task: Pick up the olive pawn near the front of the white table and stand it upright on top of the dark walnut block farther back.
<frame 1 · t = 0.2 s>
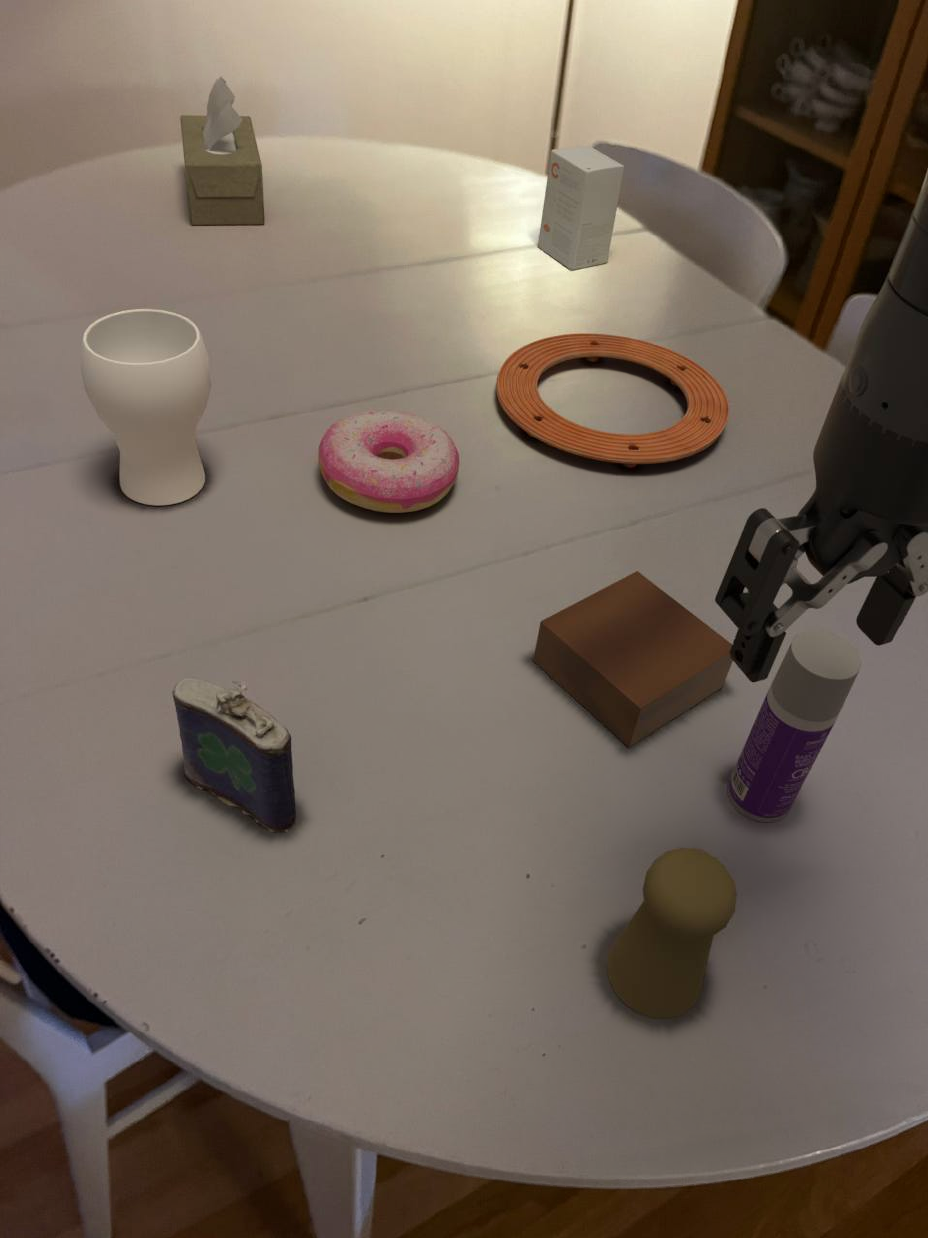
hand: (811, 651, 56), 21 cm above the table, tool pointing down, fingers open, 8 cm apart
small box: (571, 256, 140), on the table
cup: (163, 482, 96), on the table
flask: (242, 796, 71), on the table
tissue box: (223, 199, 144), on the table
walnut block: (627, 674, 83), on the table
olive pawn: (653, 973, 64), on the table
donut: (388, 483, 99), on the table
container: (757, 797, 75), on the table
ring: (608, 410, 112), on the table
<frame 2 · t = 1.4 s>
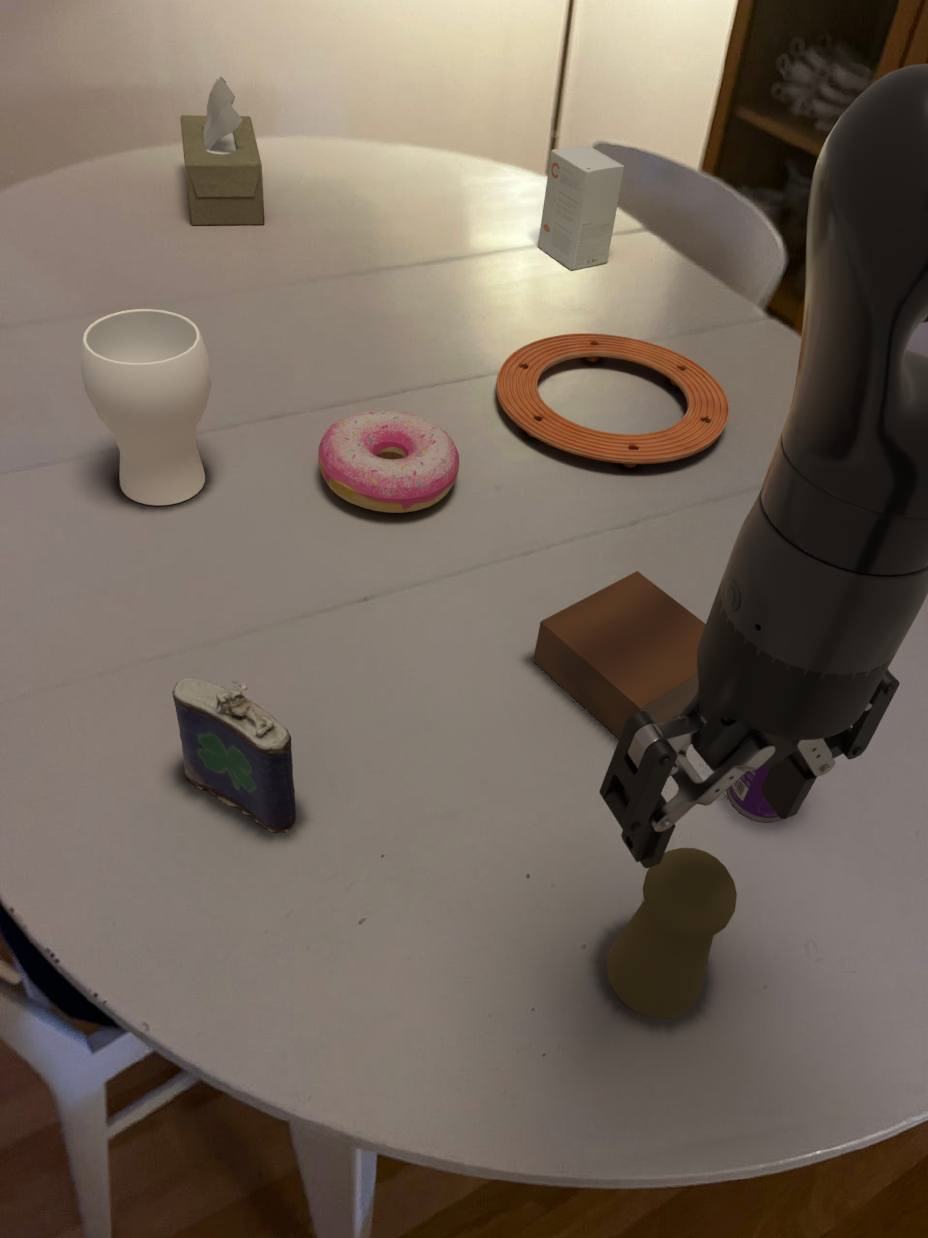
hand: (710, 828, 53), 16 cm above the table, tool pointing down, fingers open, 8 cm apart
nothing on the table moved.
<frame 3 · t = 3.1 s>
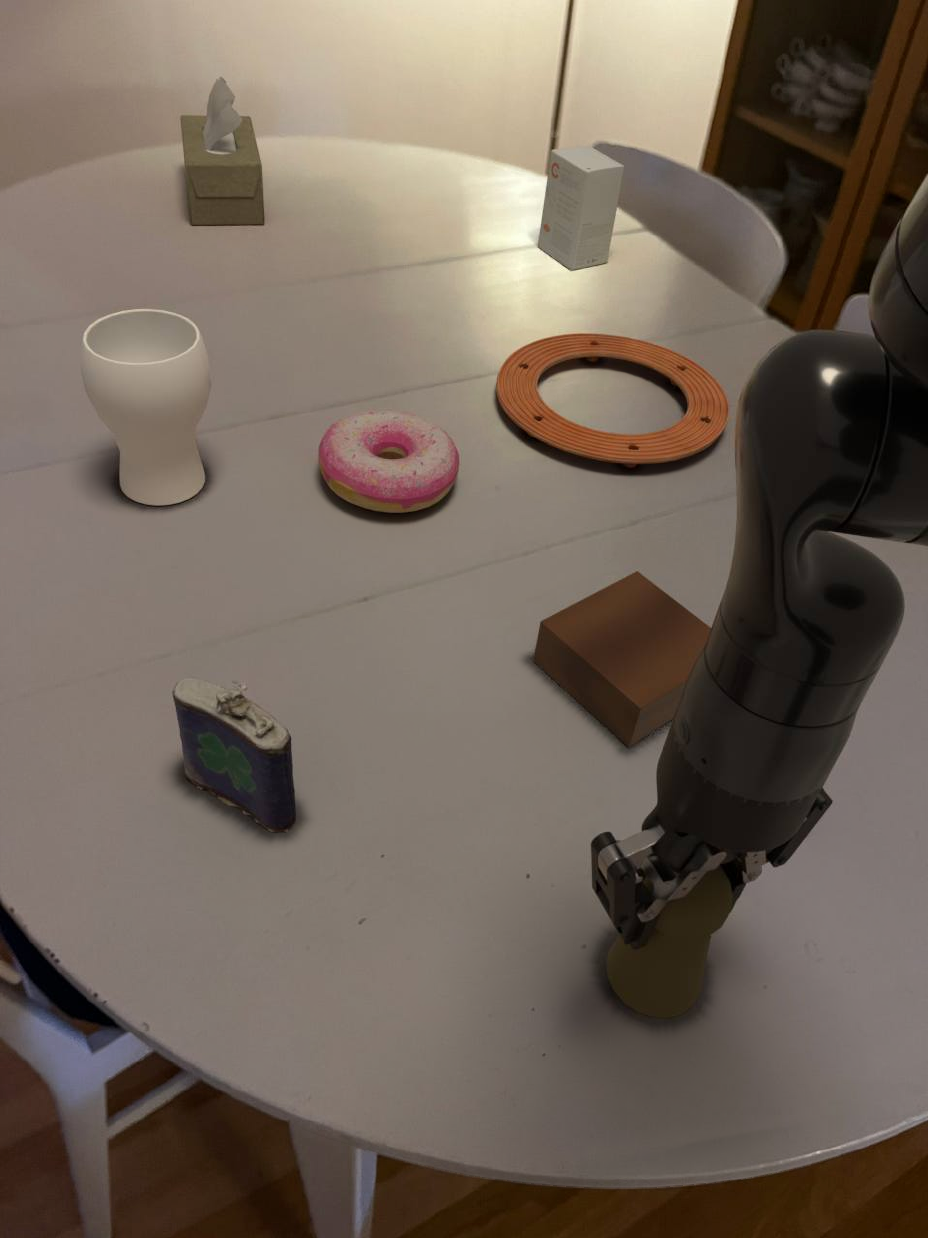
hand: (673, 917, 60), 6 cm above the table, tool pointing down, fingers closed on olive pawn, 5 cm apart
olive pawn: (653, 973, 64), on the table, touching gripper
everything else where it was.
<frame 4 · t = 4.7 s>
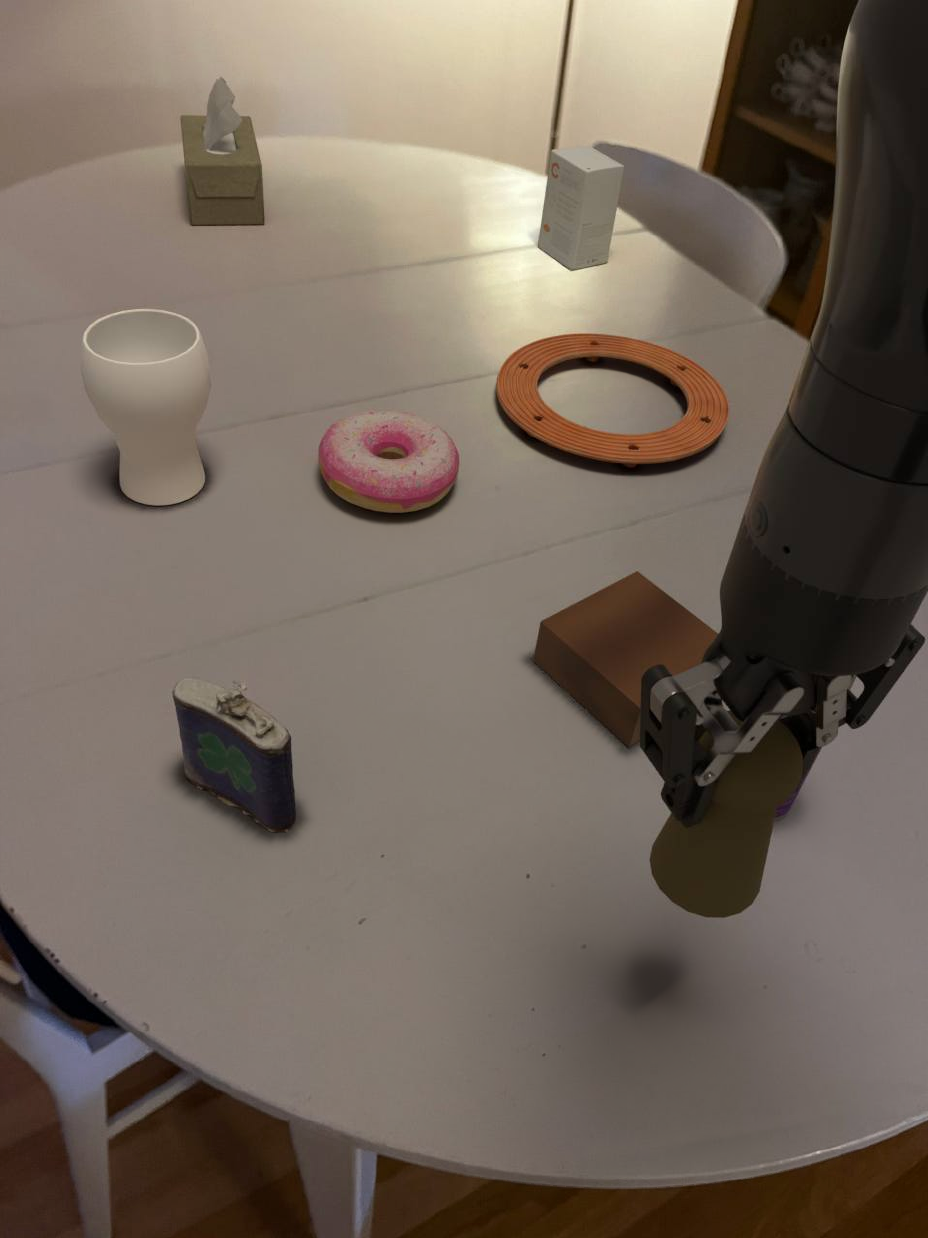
hand: (730, 794, 51), 19 cm above the table, tool pointing down, fingers closed on olive pawn, 5 cm apart
olive pawn: (704, 870, 55), point 12 cm above the table, touching gripper
everything else where it was.
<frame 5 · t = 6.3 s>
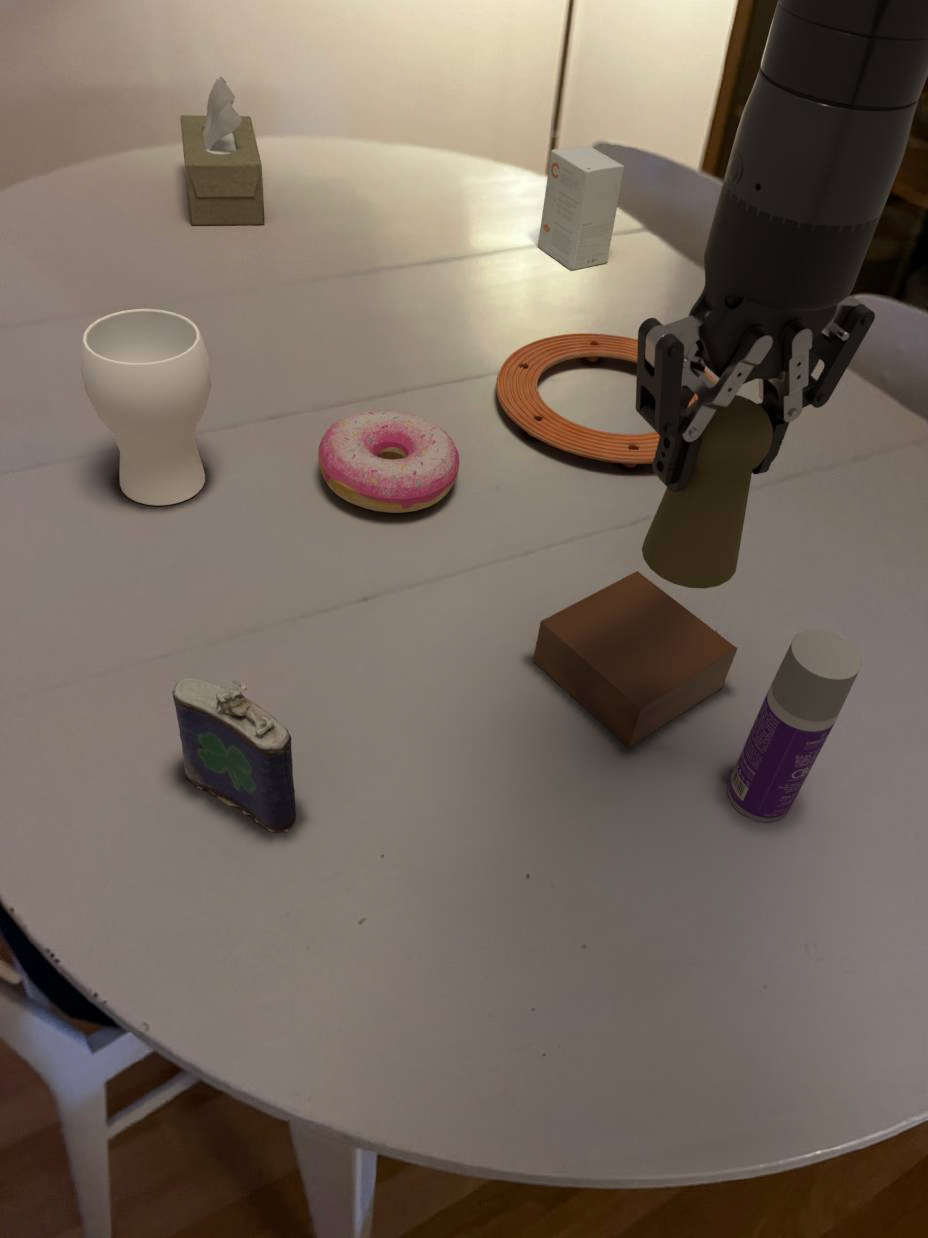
hand: (711, 473, 60), 25 cm above the table, tool pointing down, fingers closed on olive pawn, 5 cm apart
olive pawn: (688, 558, 65), point 19 cm above the table, touching gripper
everything else where it was.
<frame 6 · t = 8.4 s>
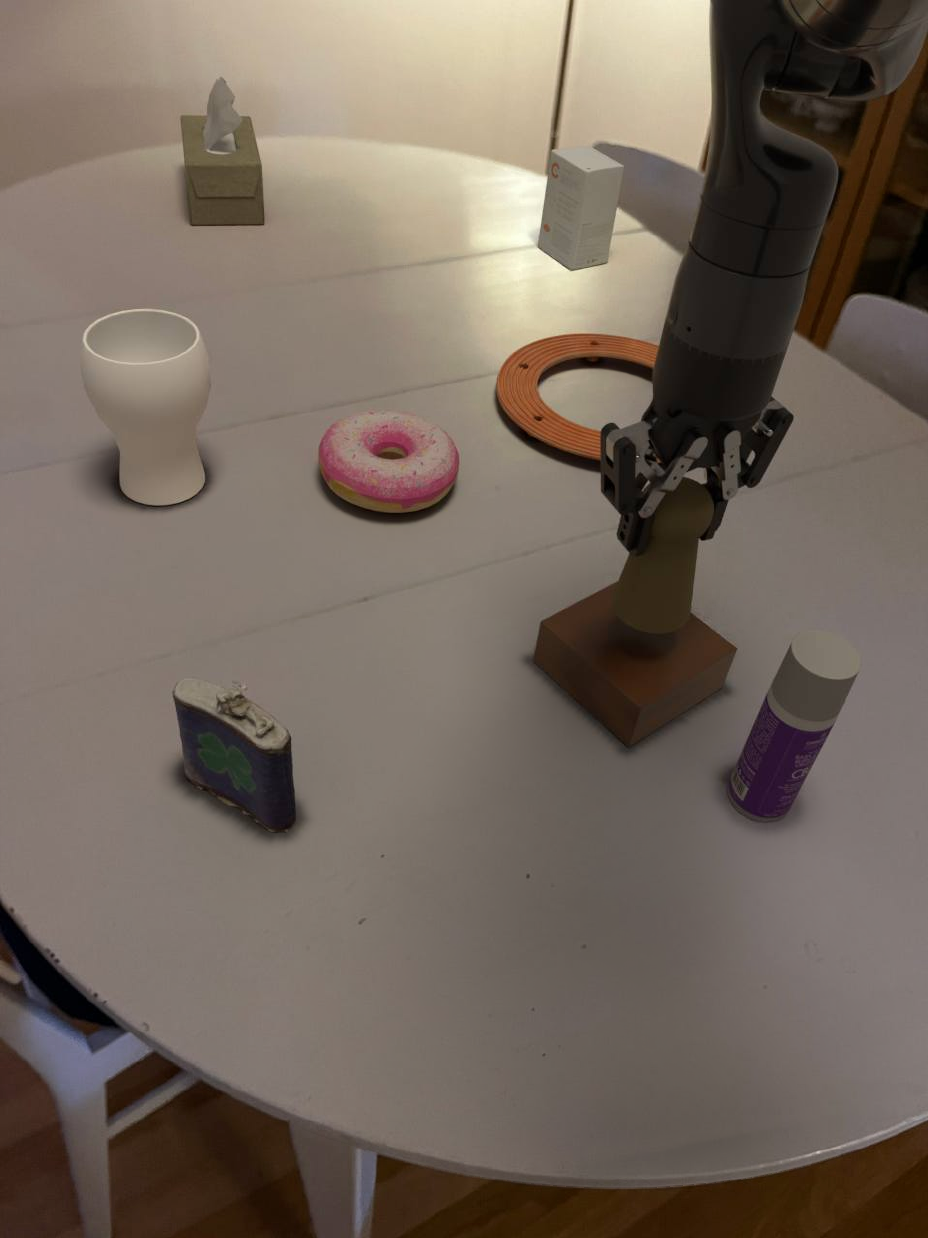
hand: (666, 540, 73), 14 cm above the table, tool pointing down, fingers closed on olive pawn, 5 cm apart
olive pawn: (650, 607, 77), point 8 cm above the table, touching gripper
everything else where it was.
when the fingers open (11 cm above the table, at t = 9.9 s): olive pawn stays where it is, resting on walnut block.
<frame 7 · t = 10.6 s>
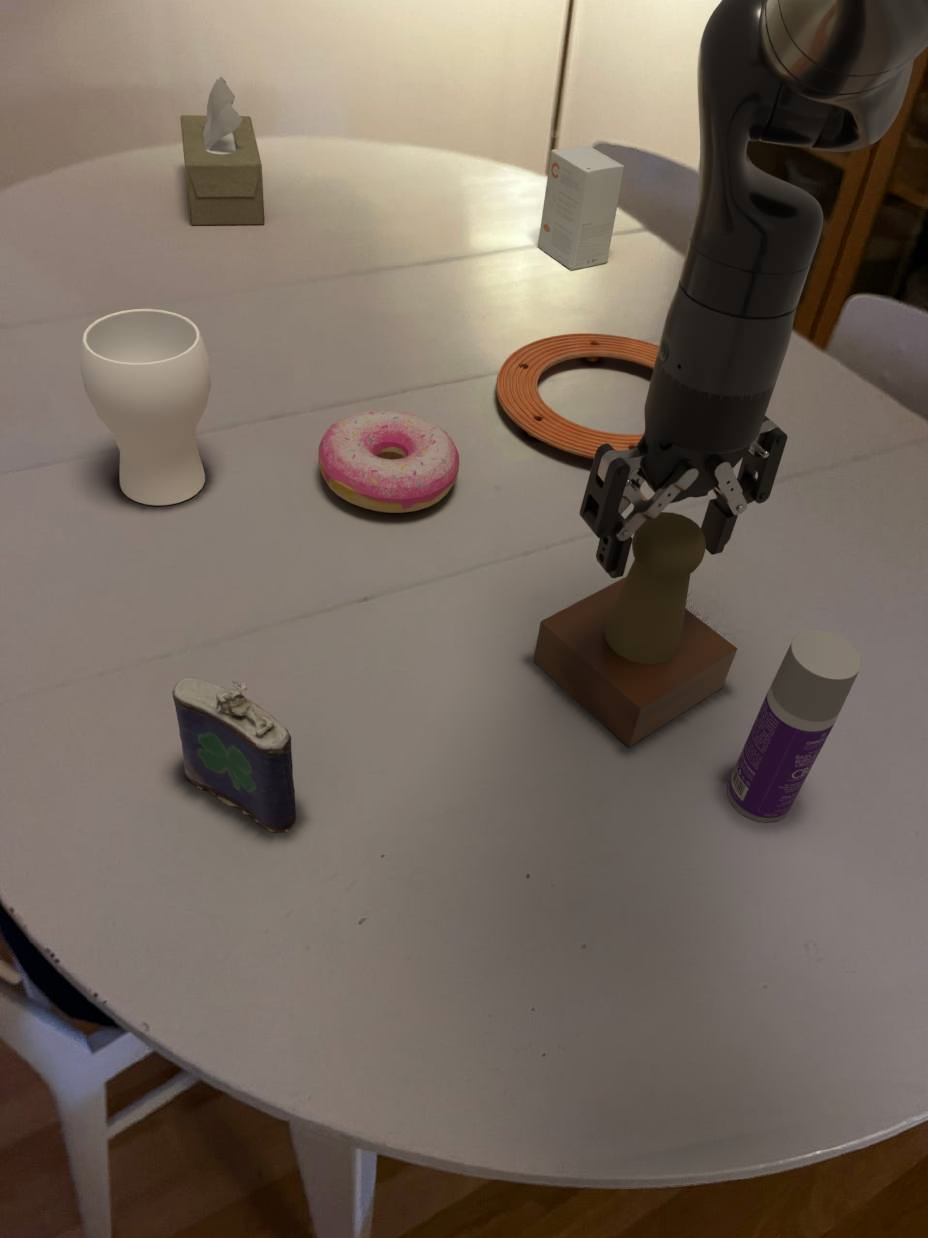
hand: (661, 558, 74), 12 cm above the table, tool pointing down, fingers open, 8 cm apart
olive pawn: (641, 638, 80), point 4 cm above the table, touching walnut block
everything else where it was.
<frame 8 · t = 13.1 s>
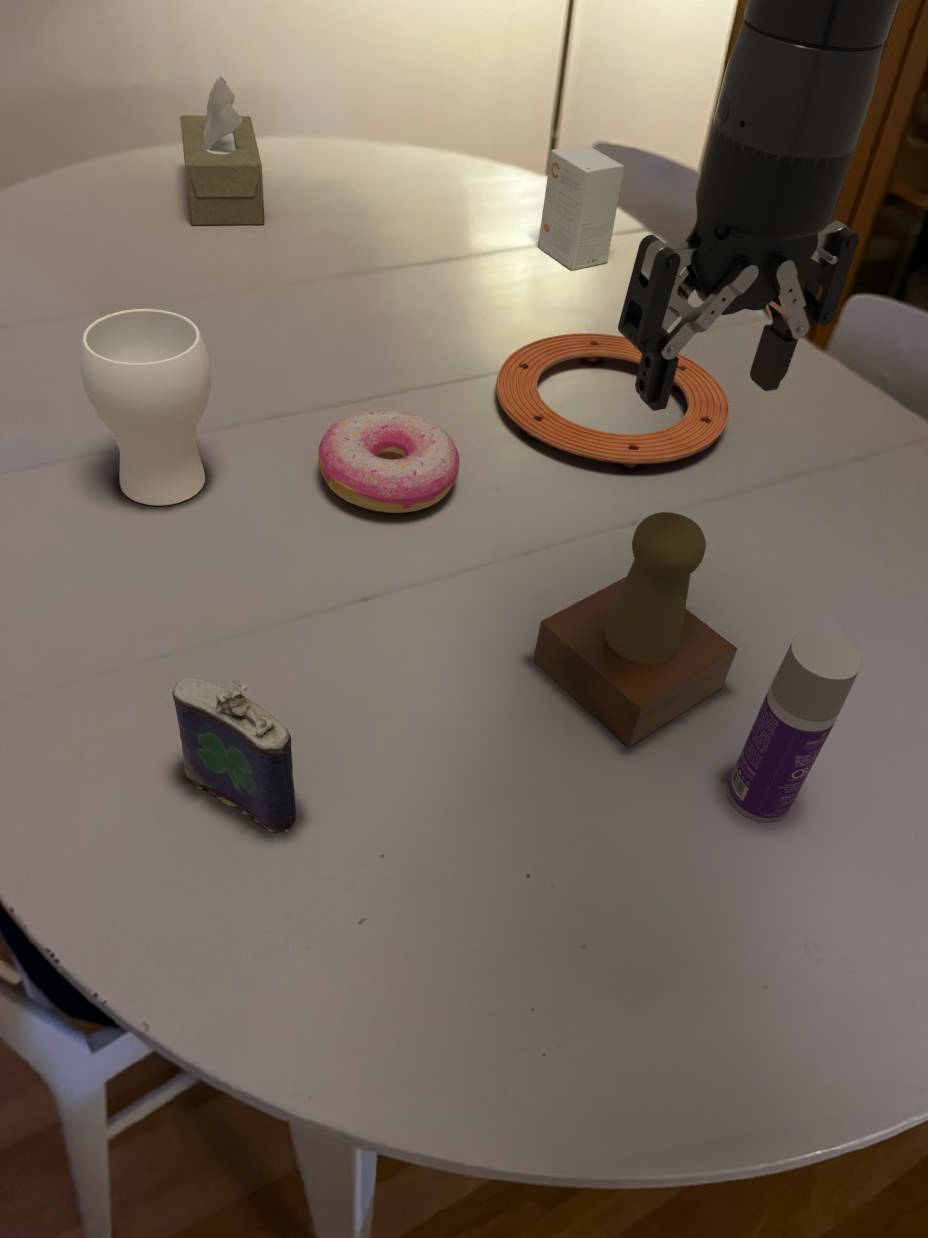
hand: (708, 393, 65), 26 cm above the table, tool pointing down, fingers open, 8 cm apart
nothing on the table moved.
at the end: olive pawn inside the target area on the walnut block (0.2 cm from its centre), point 4.3 cm above the walnut block's base; olive pawn tilted 0° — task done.
